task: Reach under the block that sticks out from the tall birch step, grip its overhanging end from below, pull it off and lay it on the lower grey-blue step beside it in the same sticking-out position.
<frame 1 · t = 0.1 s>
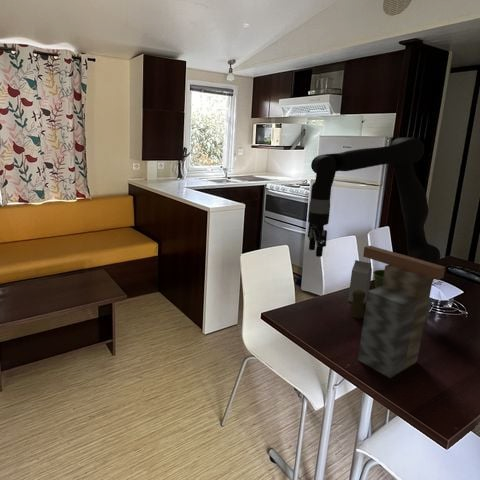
hand: (315, 253, 144), 29 cm above the table, tool pointing down, fingers open, 8 cm apart
milk carton: (357, 301, 175), on the table
stepped stand: (387, 361, 128), on the table
block: (400, 266, 124), point 32 cm above the table, touching stepped stand
plant pot: (383, 296, 182), on the table
olive cylinder: (356, 315, 161), on the table
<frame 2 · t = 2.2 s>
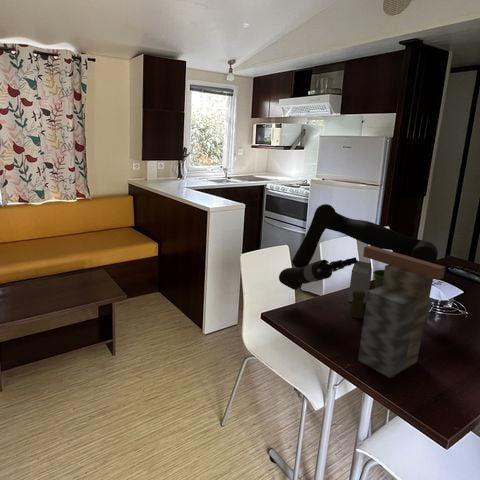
hand: (348, 261, 140), 28 cm above the table, tool pointing upward, fingers open, 8 cm apart
nothing on the table moved.
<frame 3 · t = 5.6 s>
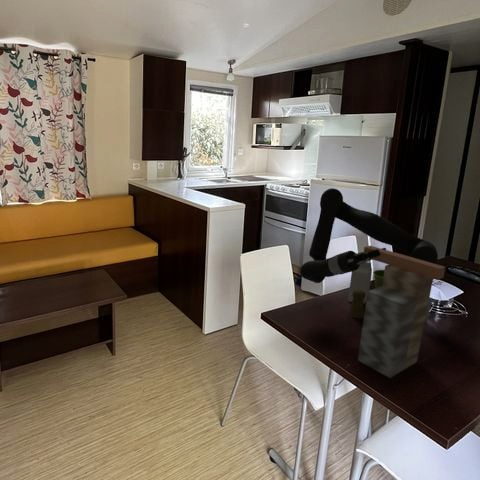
hand: (382, 251, 129), 35 cm above the table, tool pointing upward, fingers closed on block, 3 cm apart
block: (400, 266, 124), point 32 cm above the table, touching gripper, stepped stand
everything else where it was.
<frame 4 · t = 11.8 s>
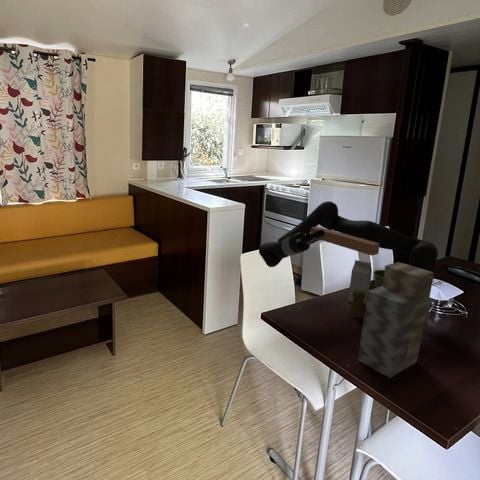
hand: (327, 231, 136), 39 cm above the table, tool pointing upward, fingers closed on block, 3 cm apart
block: (342, 244, 132), point 36 cm above the table, touching gripper
everything else where it was.
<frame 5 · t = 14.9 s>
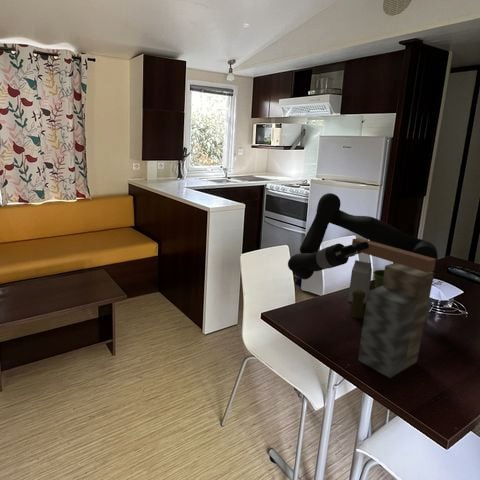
hand: (371, 243, 123), 39 cm above the table, tool pointing upward, fingers closed on block, 3 cm apart
block: (389, 259, 118), point 36 cm above the table, touching gripper
everything else where it was.
when the fingers open (30 cm above the table, at t = 17.9 s): block drops 2 cm, resting on stepped stand.
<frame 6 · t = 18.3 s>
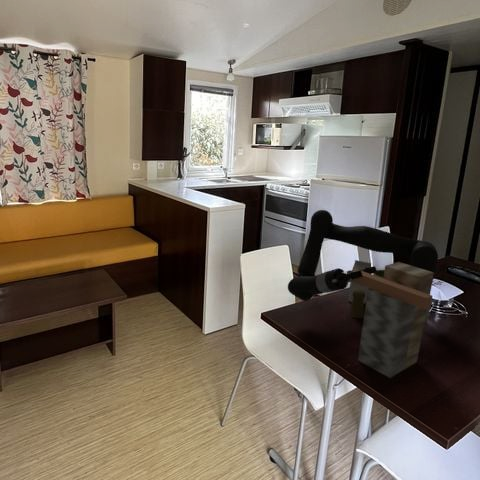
hand: (368, 271, 125), 30 cm above the table, tool pointing upward, fingers open, 7 cm apart
block: (387, 292, 120), point 25 cm above the table, touching stepped stand
everything else where it was.
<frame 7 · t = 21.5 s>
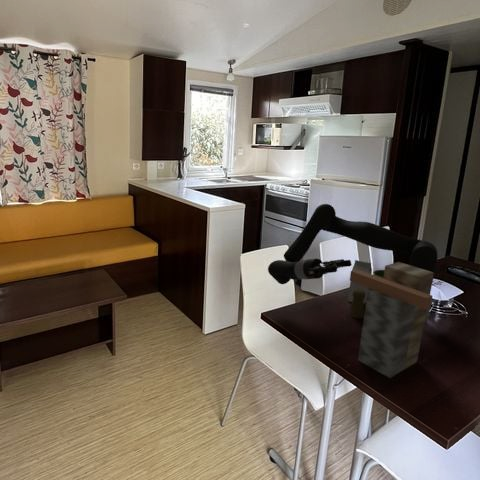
hand: (343, 265, 134), 28 cm above the table, tool pointing upward, fingers open, 8 cm apart
nothing on the table moved.
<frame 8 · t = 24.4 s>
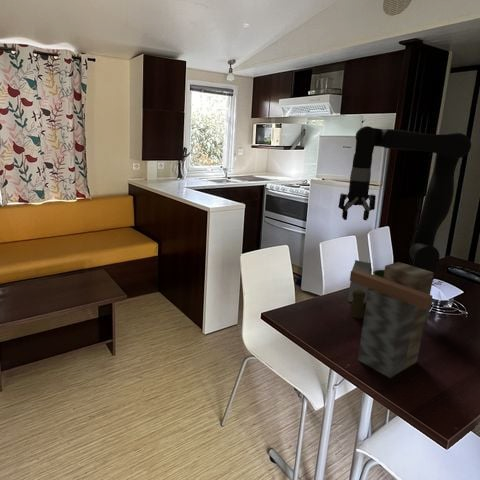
hand: (354, 219, 154), 40 cm above the table, tool pointing down, fingers open, 8 cm apart
nothing on the table moved.
at the end: block inside the target area on the stepped stand (0.2 cm from its centre), point 25.0 cm above the stepped stand's base; block tilted 0°; the gripper is holding nothing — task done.
